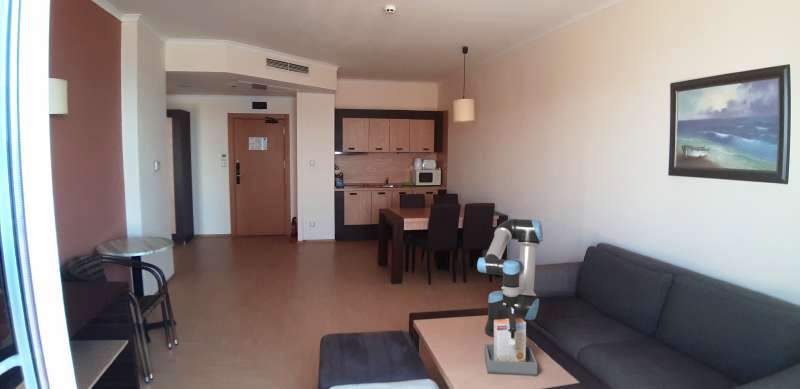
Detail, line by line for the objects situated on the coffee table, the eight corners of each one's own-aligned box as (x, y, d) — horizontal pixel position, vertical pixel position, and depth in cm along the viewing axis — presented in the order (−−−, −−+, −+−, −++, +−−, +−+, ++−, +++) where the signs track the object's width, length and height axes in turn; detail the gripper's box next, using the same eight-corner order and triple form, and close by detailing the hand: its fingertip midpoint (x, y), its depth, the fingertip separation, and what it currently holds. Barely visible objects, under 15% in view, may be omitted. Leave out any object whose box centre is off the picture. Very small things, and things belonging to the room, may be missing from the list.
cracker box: (521, 359, 214) (522, 317, 212) (525, 365, 208) (526, 322, 206) (492, 360, 213) (493, 318, 210) (496, 366, 207) (497, 323, 204)
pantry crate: (484, 355, 220) (484, 344, 219) (529, 357, 218) (530, 345, 217) (487, 373, 202) (487, 361, 202) (536, 376, 200) (537, 363, 199)
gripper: (499, 285, 219) (499, 326, 222) (506, 303, 195) (505, 349, 197) (515, 286, 218) (514, 327, 221) (523, 303, 194) (522, 350, 196)
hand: (510, 337), depth 209 cm, fingers open, 13 cm apart
